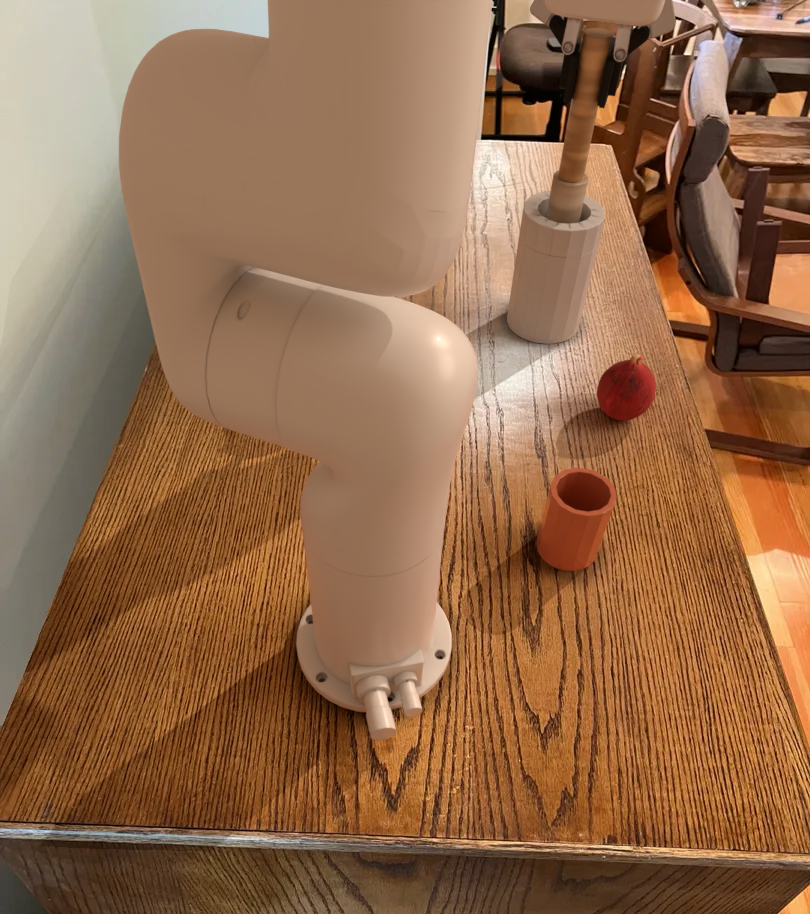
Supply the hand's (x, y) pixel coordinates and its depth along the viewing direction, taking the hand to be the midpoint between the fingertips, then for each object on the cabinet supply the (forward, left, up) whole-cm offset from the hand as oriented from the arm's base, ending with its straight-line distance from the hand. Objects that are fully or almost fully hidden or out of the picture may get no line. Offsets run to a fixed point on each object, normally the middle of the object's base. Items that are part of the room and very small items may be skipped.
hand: (585, 98), depth 73 cm
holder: (-34, +10, -25) cm, 43 cm away
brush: (0, 0, -13) cm, 13 cm away
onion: (-18, -2, -25) cm, 31 cm away
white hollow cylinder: (0, 0, -25) cm, 25 cm away
